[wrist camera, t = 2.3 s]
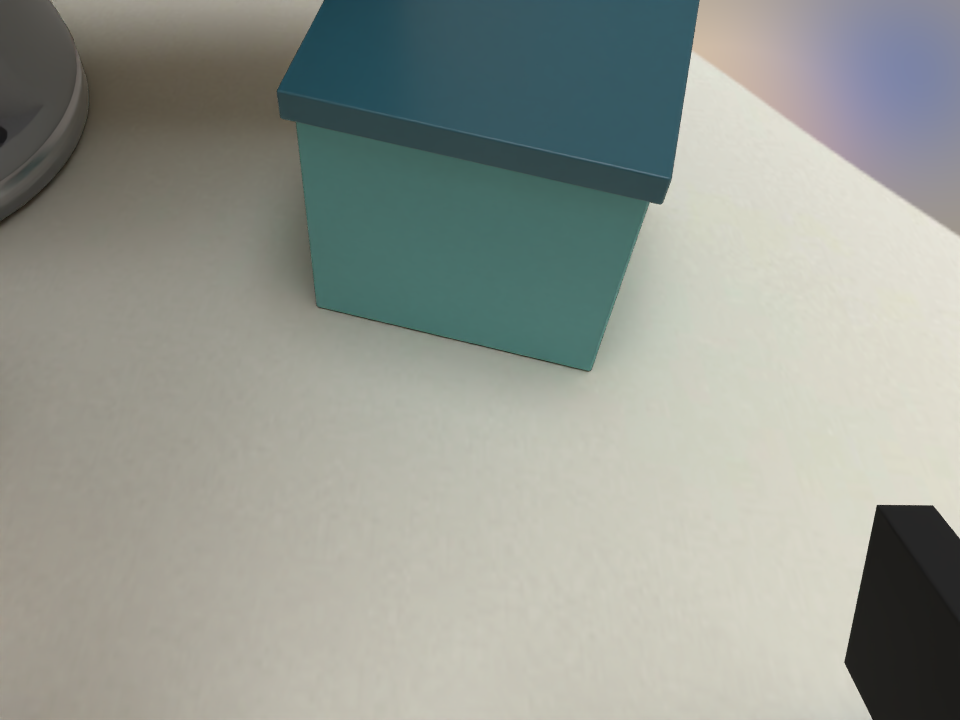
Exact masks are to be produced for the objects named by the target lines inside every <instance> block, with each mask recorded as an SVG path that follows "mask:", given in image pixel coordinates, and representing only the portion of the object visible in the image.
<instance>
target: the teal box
mask: <svg viewBox="0 0 960 720" xmlns="http://www.w3.org/2000/svg"><path fill="white" fill-rule="evenodd" d="M698 6H699V0H324V1H323V3H322V5H321V7H320V9H319V11H318V13H317V15H316V17H315V19H314V21H313V22H312V24H311V26H310V28H309V30H308V32H307V34H306V36H305V38H304V40H303V41H302V43H301V45H300V47H299V49H298V51H297V53H296V55H295V57H294V59H293V60H292V62H291V64H290V66H289V68H288V70H287V72H286V74H285V76H284V78H283V79H282V81H281V83H280V85H279V87H278V89H277V98H278V105H279V113H280V118H282V119H285V120H290V121H294V122H296V128H297V137H298V145H299V154H300V163H301V172H302V181H303V189H304V198H305V207H306V216H307V225H308V234H309V242H310V251H311V260H312V269H313V278H314V287H315V295H316V304H317V306H318V307H321V308H326V309H330V310H334V311H338V312H343V313H347V314H351V315H355V316H359V317H364V318H368V319H372V320H376V321H380V322H385V323H389V324H393V325H397V326H401V327H406V328H410V329H414V330H418V331H423V332H427V333H431V334H435V335H439V336H444V337H448V338H452V339H456V340H460V341H465V342H469V343H473V344H477V345H482V346H486V347H490V348H494V349H498V350H503V351H507V352H511V353H515V354H519V355H524V356H528V357H532V358H536V359H540V360H545V361H549V362H553V363H557V364H562V365H566V366H570V367H574V368H578V369H583V370H587V371H590V370H591V369H592V367H593V364H594V361H595V358H596V355H597V352H598V349H599V346H600V344H601V341H602V338H603V335H604V332H605V329H606V326H607V323H608V321H609V318H610V315H611V312H612V309H613V306H614V303H615V300H616V298H617V295H618V292H619V289H620V286H621V283H622V280H623V277H624V275H625V272H626V269H627V266H628V263H629V260H630V257H631V254H632V252H633V249H634V246H635V243H636V240H637V237H638V234H639V231H640V229H641V226H642V223H643V220H644V217H645V214H646V211H647V208H648V206H649V203H650V202H651V203H656V204H662V203H663V201H664V199H665V196H666V193H667V190H668V188H669V185H670V182H671V179H672V173H673V167H674V160H675V154H676V147H677V141H678V134H679V128H680V122H681V115H682V109H683V102H684V96H685V90H686V83H687V77H688V70H689V64H690V58H691V51H692V45H693V38H694V32H695V25H696V19H697V12H698Z"/></svg>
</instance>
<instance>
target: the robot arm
mask: <svg viewBox="0 0 960 720" xmlns="http://www.w3.org/2000/svg"><path fill="white" fill-rule="evenodd" d="M88 107H89V89H88V82H87V78H86V75H85V71H84V68H83V65H82V62H81V60H80V57H79V54H78V51H77V48H76V45H75V42H74V39H73V37H72V35H71V33H70V31H69V29H68V27H67V26H66V24H65V23H64V21H63V20H62V18H61V16H60V15H59V13H58V11H57V10H56V8H55V7H54V5H53V4H52V3H51V2H50V0H0V221H1V220H3V219H4V218H6V217H7V216H9V215H10V214H12V213H13V212H15V211H16V210H18V209H19V208H20V207H22V206H23V205H24V204H25V203H27V202H28V201H29V200H31V199H32V198H33V197H34V196H35V195H36V194H37V193H39V192H40V191H41V190H42V189H43V188H44V187H45V186H46V185H47V184H48V183H49V182H50V181H51V180H52V179H53V178H54V177H55V175H56V174H57V173H58V172H59V171H60V170H61V168H62V167H63V166H64V164H65V163H66V162H67V160H68V159H69V157H70V156H71V154H72V152H73V151H74V149H75V147H76V146H77V143H78V141H79V139H80V137H81V135H82V132H83V129H84V126H85V123H86V119H87V114H88ZM844 663H845V665H846V667H847V669H848V671H849V673H850V675H851V677H852V679H853V681H854V683H855V685H856V687H857V689H858V691H859V693H860V695H861V697H862V699H863V701H864V703H865V705H866V707H867V709H868V711H869V713H870V715H871V717H872V719H873V720H960V538H959V537H958V536H957V535H956V533H955V532H954V531H953V530H952V529H951V527H950V526H949V525H948V524H947V522H946V521H945V520H944V519H943V517H942V516H941V515H940V514H939V512H938V511H937V510H936V509H935V507H934V506H924V505H877V507H876V512H875V517H874V522H873V527H872V532H871V536H870V541H869V546H868V551H867V556H866V561H865V565H864V570H863V575H862V580H861V585H860V590H859V594H858V599H857V604H856V609H855V614H854V619H853V623H852V628H851V633H850V638H849V643H848V648H847V652H846V657H845V662H844Z"/></svg>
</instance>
